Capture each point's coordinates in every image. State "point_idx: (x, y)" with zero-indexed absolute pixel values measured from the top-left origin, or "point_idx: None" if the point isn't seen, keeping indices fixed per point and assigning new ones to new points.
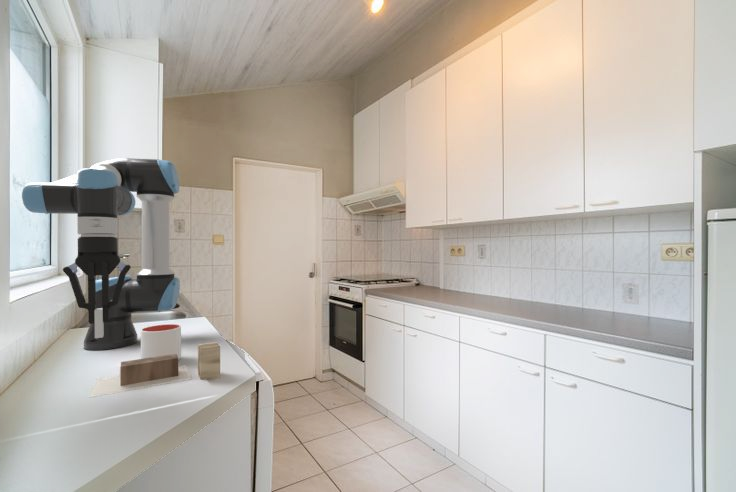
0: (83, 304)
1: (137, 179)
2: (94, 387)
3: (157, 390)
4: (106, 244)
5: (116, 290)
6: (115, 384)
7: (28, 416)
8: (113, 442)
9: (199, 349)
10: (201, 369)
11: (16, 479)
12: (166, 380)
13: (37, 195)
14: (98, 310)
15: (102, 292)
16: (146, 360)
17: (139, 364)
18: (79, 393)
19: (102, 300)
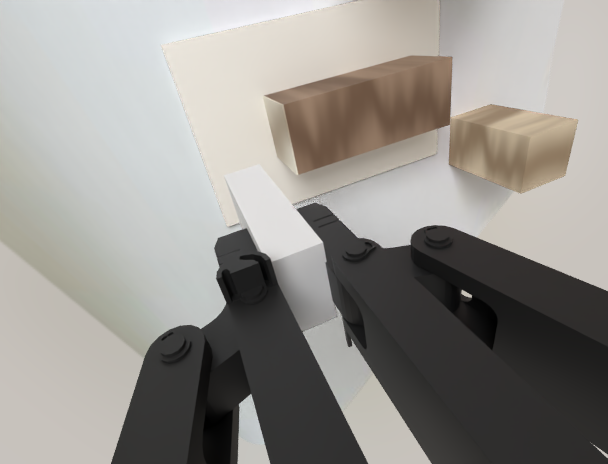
0: (229, 412)
1: None
2: (202, 147)
3: (366, 201)
4: None
5: (543, 395)
6: (258, 136)
7: (129, 298)
8: (330, 378)
9: (517, 171)
10: (472, 172)
11: (255, 439)
12: (385, 147)
13: None
14: (312, 324)
15: (424, 442)
16: (364, 119)
17: (347, 158)
18: (170, 170)
19: (374, 368)
